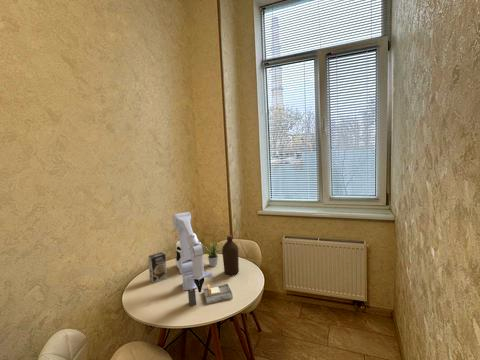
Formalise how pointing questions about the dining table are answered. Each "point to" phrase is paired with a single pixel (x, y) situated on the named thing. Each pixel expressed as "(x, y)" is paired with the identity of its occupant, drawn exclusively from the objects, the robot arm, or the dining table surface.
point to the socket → (218, 294)
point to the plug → (192, 297)
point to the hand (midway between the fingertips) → (199, 291)
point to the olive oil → (230, 257)
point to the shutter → (212, 290)
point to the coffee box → (157, 267)
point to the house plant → (213, 254)
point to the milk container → (179, 253)
